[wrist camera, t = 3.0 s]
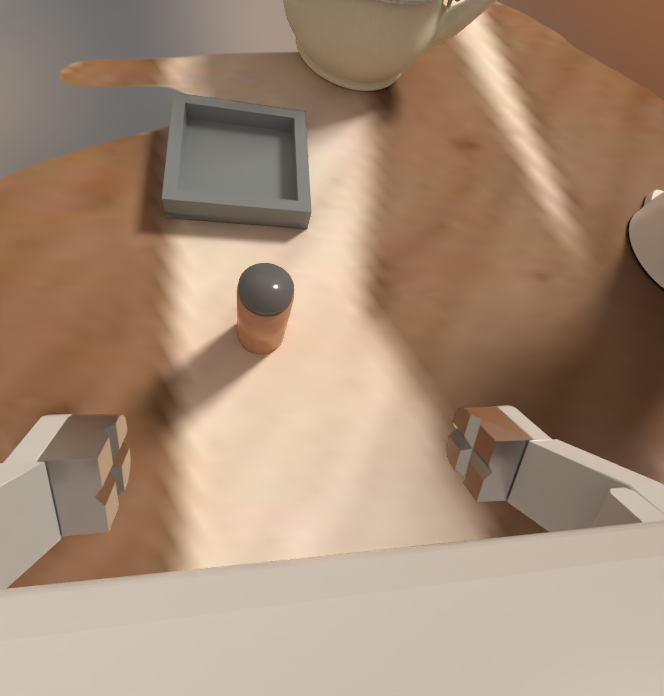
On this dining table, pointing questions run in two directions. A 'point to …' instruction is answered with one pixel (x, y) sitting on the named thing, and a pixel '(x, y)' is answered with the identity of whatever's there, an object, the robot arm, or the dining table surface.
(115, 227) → the dining table surface
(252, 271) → the terracotta jar
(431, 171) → the dining table surface
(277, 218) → the tray
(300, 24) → the kettle
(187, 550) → the dining table surface
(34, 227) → the dining table surface
